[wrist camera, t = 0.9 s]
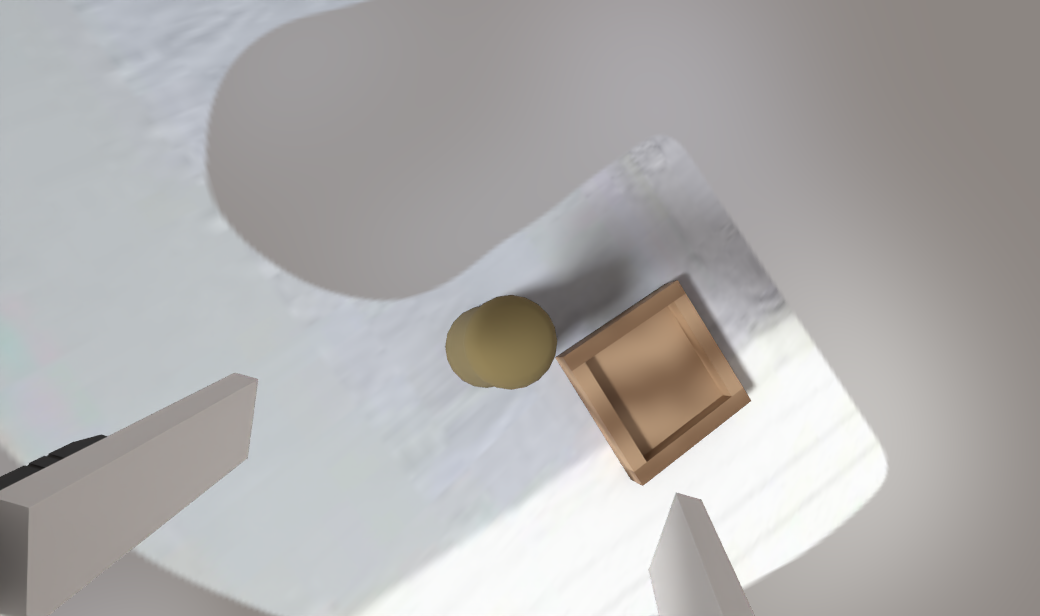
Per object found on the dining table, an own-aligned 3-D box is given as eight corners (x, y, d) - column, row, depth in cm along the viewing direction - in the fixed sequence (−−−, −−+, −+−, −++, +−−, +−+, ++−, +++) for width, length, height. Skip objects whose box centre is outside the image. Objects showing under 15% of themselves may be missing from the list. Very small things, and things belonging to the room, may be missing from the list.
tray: (555, 357, 37) (562, 357, 35) (664, 284, 40) (677, 280, 38) (630, 479, 38) (642, 485, 36) (735, 398, 40) (751, 400, 38)
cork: (434, 319, 36) (443, 302, 25) (512, 295, 37) (551, 269, 27) (460, 399, 36) (479, 416, 25) (537, 372, 37) (586, 377, 26)
